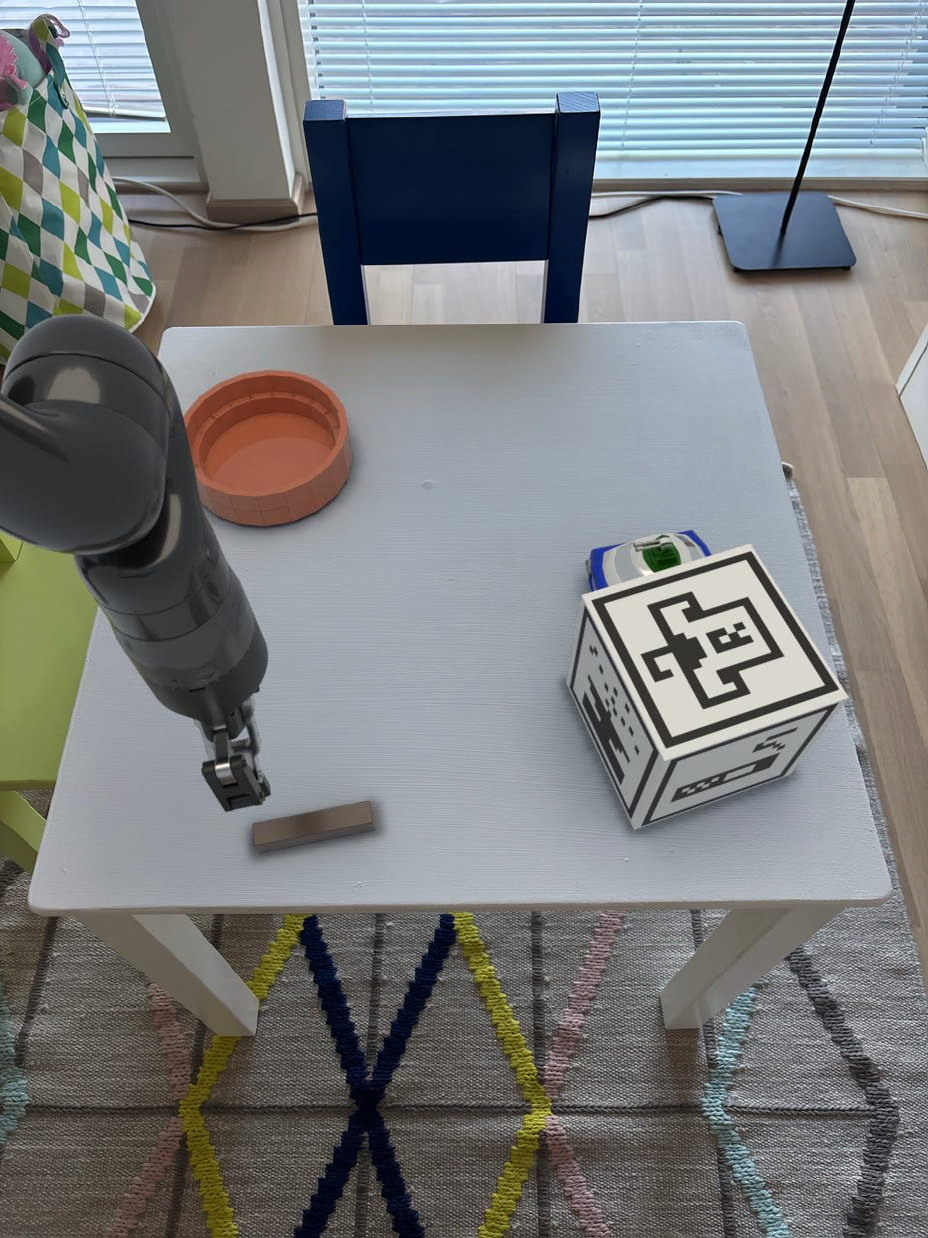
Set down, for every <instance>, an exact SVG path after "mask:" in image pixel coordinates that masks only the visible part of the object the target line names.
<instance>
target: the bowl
mask: <svg viewBox="0 0 928 1238" xmlns="http://www.w3.org/2000/svg"><path fill="white" fill-rule="evenodd" d="M183 418H184V422H185V426H186V430H187V434H188V439H189V443H190V448H191V452H192V457H193V462H194V467H195V472H196V478H197V483H198V489H199V493H200V498H201V502H202V505H203V506H205V508H207V509H208V510H209V511H210V512H211V513H213V514H214V515H216V516H217V517H219V518H222V519H225V520H227V521H230V522H232V523H236V524H237V525H245V526H247V525H248V526H257V527H258V526H259V527H270V526H276V525H283V524H286V523H287V524H288V523H292V522H296V521H298V520H299V519H302V518H305V517H306V516H307V517H308V516H309V515H311V514H313V513H316V512H318V511H319V510H321V509H322V508H323V507H324V506H326V505H327V504H329V502H330V501H332V500H333V499H335V497H337V496H338V494H339V493H340V491H341V489H342V488H343V486H344V485H345V484H346V483H347V481H348V479H349V477H350V473H351V469H352V464H353V461H354V453H353V447H352V441H351V436H350V431H349V424H348V420H347V419H348V418H347V413H346V408H345V406H344V404H343V403H342V402H341V400H340V399H339V397H338V396H337V394H336V393H335V392H334V390H332V389H331V388H330V387H328V386H326V384H324V383H322V382H321V381H320V380H318V379H317V378H314V377H311V376H308V375H305V374H302V373H299V372H297V371H292V370H291V371H289V370H278V369H277V370H276V369H264V370H259V371H252V372H245V373H241V374H237V375H235V376H233V377H230V378H228V379H225V380H223V381H220V382H217V384H215V385H213V386H212V387H211V388H209V389H207V390H206V391H205V392H203V393H202V394H201V395H199V396H198V397H197V398H196V399H195V401H194V402H193V403H192V404H191V406H190V407H189V408H188V409H187V411H185V413H184V414H183Z"/></svg>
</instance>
